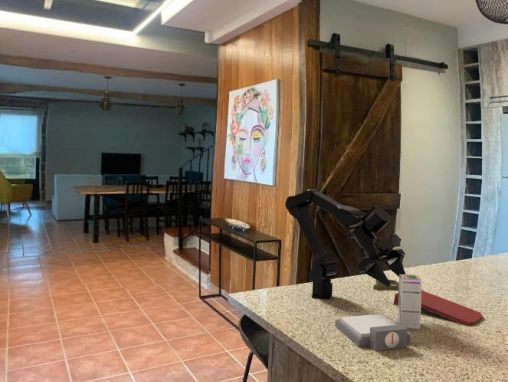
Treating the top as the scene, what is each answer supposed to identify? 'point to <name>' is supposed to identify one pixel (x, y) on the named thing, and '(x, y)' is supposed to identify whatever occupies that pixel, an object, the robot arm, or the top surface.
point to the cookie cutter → (382, 286)
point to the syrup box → (409, 301)
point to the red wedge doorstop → (447, 309)
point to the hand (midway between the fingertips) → (398, 283)
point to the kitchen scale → (373, 332)
